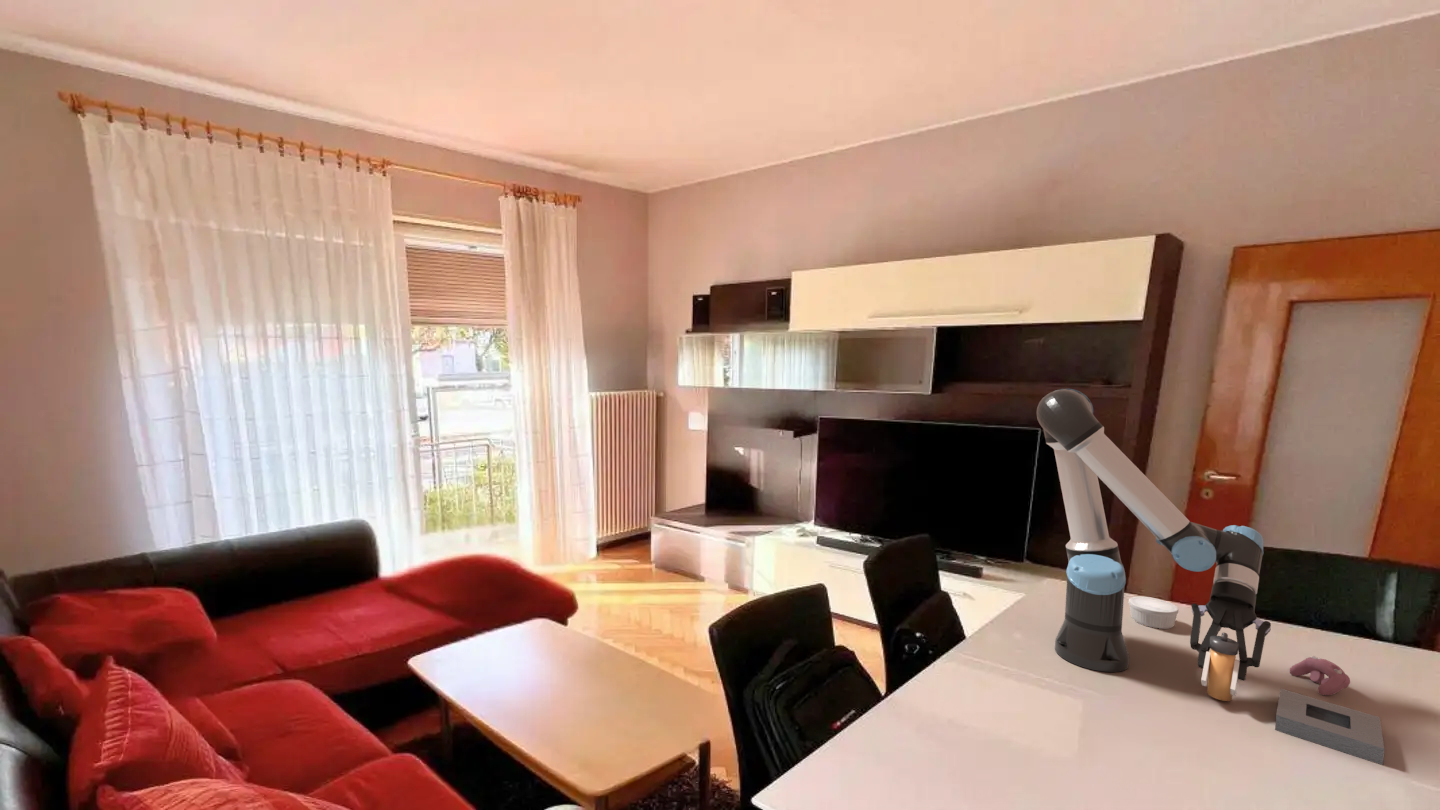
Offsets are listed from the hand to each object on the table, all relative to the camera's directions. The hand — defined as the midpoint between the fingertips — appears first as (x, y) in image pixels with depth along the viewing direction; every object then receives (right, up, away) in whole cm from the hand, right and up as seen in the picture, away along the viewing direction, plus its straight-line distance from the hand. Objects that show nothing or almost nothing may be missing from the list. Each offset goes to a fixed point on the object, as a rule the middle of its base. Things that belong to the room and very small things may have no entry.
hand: (1218, 687), depth 124 cm
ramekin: (+16, -2, +42) cm, 45 cm away
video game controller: (+30, -4, +9) cm, 32 cm away
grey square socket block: (+15, -5, -8) cm, 17 cm away
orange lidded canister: (+3, -3, +3) cm, 5 cm away
